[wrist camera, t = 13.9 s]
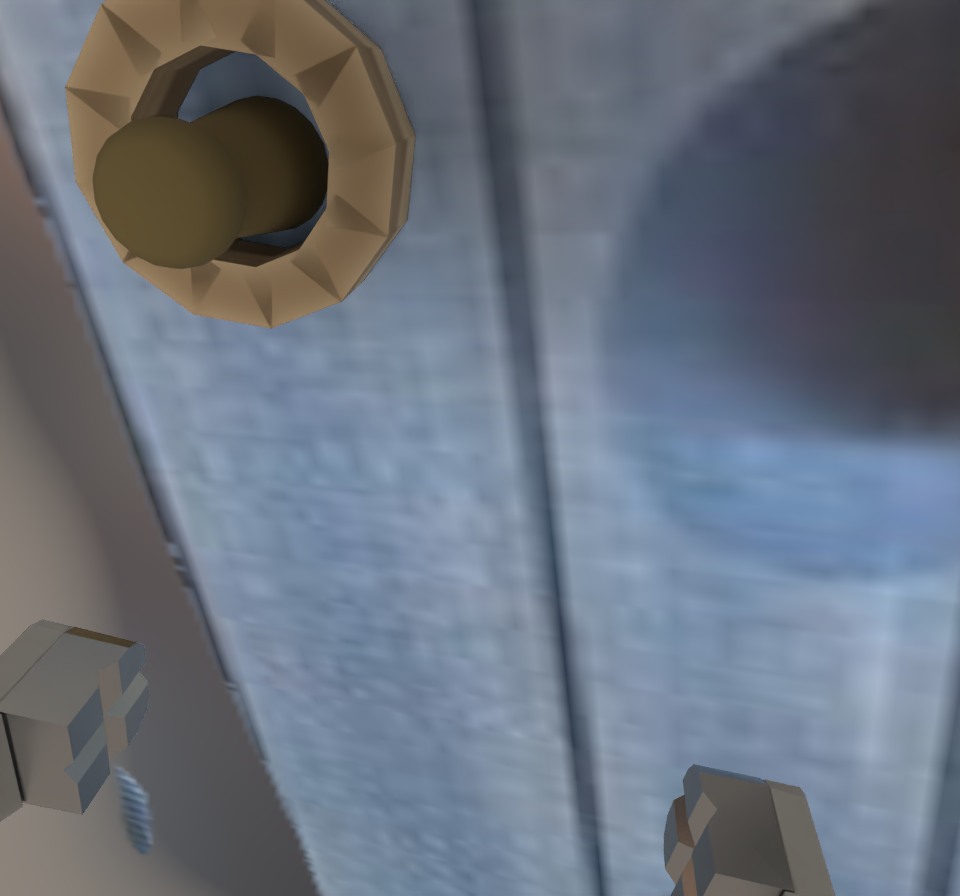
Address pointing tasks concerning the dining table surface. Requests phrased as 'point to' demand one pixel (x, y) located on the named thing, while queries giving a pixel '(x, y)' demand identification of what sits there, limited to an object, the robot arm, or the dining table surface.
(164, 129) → the dark brown rounded piece
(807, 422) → the dining table surface
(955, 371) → the dining table surface
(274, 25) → the tan faceted ring
